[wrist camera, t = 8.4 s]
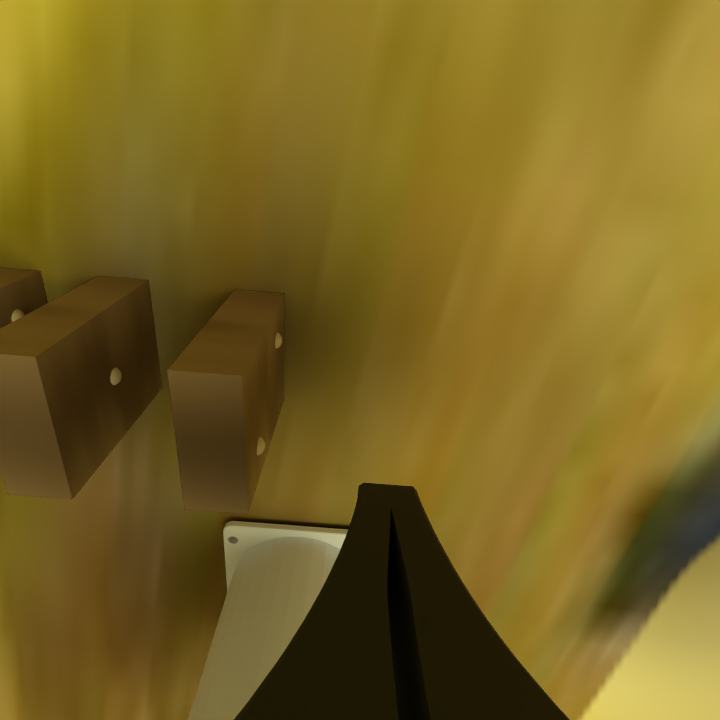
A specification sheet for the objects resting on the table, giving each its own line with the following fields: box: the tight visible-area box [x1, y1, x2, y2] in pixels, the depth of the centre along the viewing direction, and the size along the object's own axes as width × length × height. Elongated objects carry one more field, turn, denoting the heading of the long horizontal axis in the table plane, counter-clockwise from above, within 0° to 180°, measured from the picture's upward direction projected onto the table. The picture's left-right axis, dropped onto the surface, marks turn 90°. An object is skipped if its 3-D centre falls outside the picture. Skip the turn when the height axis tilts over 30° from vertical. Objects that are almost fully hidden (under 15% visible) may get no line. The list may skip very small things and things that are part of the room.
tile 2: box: [0, 276, 162, 499], centre depth 17 cm, size 5×2×7 cm, turn 175°
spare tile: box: [167, 289, 285, 514], centre depth 17 cm, size 5×2×7 cm, turn 176°
